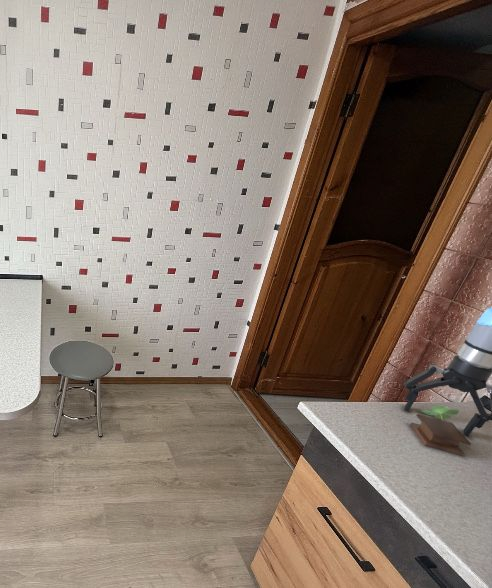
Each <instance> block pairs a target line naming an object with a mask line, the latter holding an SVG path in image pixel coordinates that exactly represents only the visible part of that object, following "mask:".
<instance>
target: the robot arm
mask: <svg viewBox="0 0 492 588" xmlns="http://www.w3.org/2000/svg"><path fill="white" fill-rule="evenodd" d="M456 354H457V355H454V356H453V358H452V360H451V361H450V363H449V364H448V365H447V367H445V368H441V367H439V366H437V365H436V364H435V363H431V364H429V366H428V368H427V369H425V370H423V371H421V372H420V373H418V374H416V375H414V376H411V377H410V378H409V379H407V380H405V381H404V382H403V387H404V388H405V389H407V390H408V392H407V393H406V394H405V400H407V402H406V403H405V405H404V411H405V412H407V413H408V412H409V411H410V409H411V408H412V406H413V405H414V403H415V401H416V400H417V398H418V396H419V392H423V391H427V390H431V389H435V388H436V389H437V388H439V387H445V386H446V387H447V386H448V387H449V388H450V389H454V390H458V391H460V392H462V393H469V394H470V396H471V398H472V400H473V403H474V405H475V407H476V409H477V412H478V413H476V412H475V414H473V416H472V418H471V419H470V420H469V422H468V423H467V424H466V426H465V427H464V428H463V435H464V436H465V437H469V436H470V434H471V433H472V432H473V431H474V429H475V428H477V429H481V428H482V427H483V426H484V425H485V424H486V423H488V422H489V421H492V384H489V383H487V381H488V380H489V379H490V377H491V376H492V307H488V308H486V309H485V311H484V312H483V313H482V314H481V316H480V317H479V318H478V319H477V320H476V322H475V323H474V325H473V327H472V328H471V330H470V331H469V333H468V335H467V337H466V338H465V340H464V342H463V343H462V344H461V346H460V347H459V349H458V351H457V352H456ZM438 374H441V375H442V376H441V377H438V378H436V379H433V380H432V379H431V380H429V381H425V380H427V379H429V378H430V377H432V376H434V375H438ZM422 381H425V382H422ZM483 389H486V390H487V393H488V394H489V401H490V402H489V403H490V413H487V410H486V408H485V406H484V404H483V402H482V400H481V398H480V396H479V393H478V391H480V390H483Z"/></svg>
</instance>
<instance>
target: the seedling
mask: <svg viewBox="0 0 492 588" xmlns="http://www.w3.org/2000/svg"><path fill="white" fill-rule="evenodd" d="M420 412H421V413H423V414H426V415H427V416H428V415H429V416H434V418H436V419H441V420H444V419H450V418H452V416H457V415H459V413H460V411H459V409H456V408H455V409H450V408H449V407H447V406H444V405H434V406H431V407H430V410H429V409H421V410H420Z"/></svg>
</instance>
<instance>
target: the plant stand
mask: <svg viewBox="0 0 492 588" xmlns="http://www.w3.org/2000/svg"><path fill="white" fill-rule="evenodd" d="M416 417H417V418H418V419H419V421H420V423H416V422H410V424H409V427H410V428H411V429H412V431H413V432H414V433H415V435H416V437H417V438H419V440H420V442H421V443H422V444H423V446H425V447H427V448H428V447H429V448H430V449H431V448H432V449H435V450H439V451H443V452H446V453H449V454H453V455H457V456H461V457H463V455H464V454H465V452H464V450H462V448H461V447H460V446H459V444H464V445H467V446H471V445H472V443H471V441H469V439H467V436H465V435H464V433H462V432H461V431H460V430H459V428H458V427H457V426H456V425H455V424H454V423H453V422H450V421H447V420H444V419H443V420H442V419H441V418H437V417H432V416H428V415H425V414H421V413H416Z"/></svg>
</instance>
